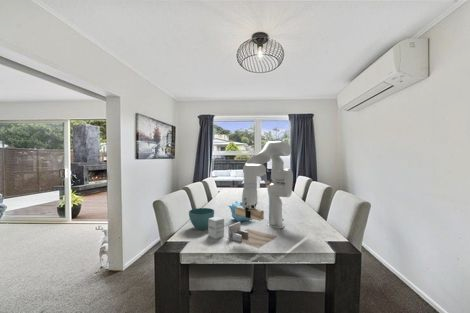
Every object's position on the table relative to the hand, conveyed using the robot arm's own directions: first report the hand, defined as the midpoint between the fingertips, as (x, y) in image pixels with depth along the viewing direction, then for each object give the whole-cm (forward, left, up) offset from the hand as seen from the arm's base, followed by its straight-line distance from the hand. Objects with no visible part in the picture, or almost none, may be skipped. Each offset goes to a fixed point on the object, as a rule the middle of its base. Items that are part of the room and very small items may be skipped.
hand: (250, 216), depth 133 cm
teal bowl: (-2, -44, -16) cm, 47 cm away
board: (-6, -3, -16) cm, 17 cm away
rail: (0, -1, -1) cm, 1 cm away
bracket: (0, -8, -15) cm, 17 cm away
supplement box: (+6, -22, -16) cm, 28 cm away
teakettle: (-35, -33, -16) cm, 51 cm away
